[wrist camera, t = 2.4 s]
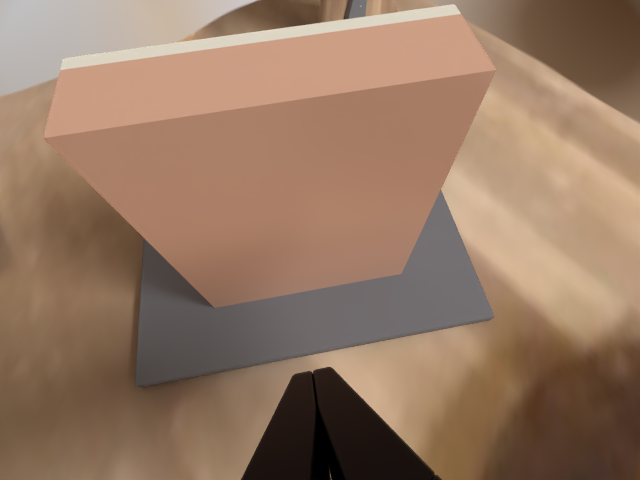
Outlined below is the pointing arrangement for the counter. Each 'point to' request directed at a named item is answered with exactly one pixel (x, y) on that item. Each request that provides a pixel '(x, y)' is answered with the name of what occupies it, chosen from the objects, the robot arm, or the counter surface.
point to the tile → (277, 145)
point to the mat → (304, 311)
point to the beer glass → (353, 9)
